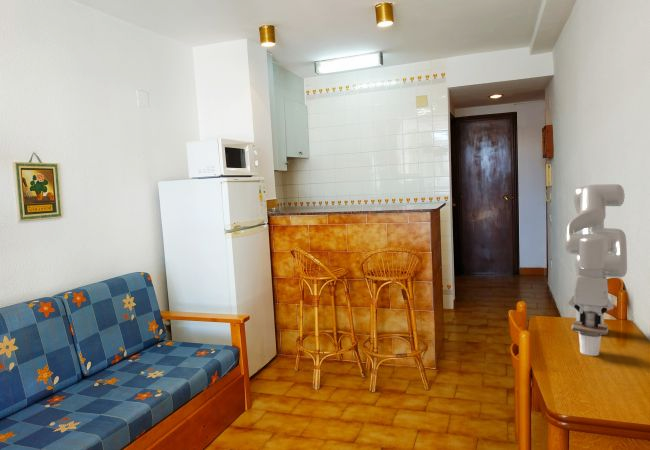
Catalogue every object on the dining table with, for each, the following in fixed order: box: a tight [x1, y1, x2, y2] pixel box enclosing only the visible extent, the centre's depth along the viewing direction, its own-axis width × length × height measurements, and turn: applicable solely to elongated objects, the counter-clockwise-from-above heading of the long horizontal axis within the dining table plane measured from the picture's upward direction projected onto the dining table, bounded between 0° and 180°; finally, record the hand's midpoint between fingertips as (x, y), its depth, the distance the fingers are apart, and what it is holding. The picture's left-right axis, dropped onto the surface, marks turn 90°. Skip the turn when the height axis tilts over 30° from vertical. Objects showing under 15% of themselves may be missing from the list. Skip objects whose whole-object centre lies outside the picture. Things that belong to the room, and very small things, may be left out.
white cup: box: [578, 331, 602, 357], centre depth 158 cm, size 7×7×7 cm
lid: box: [572, 311, 608, 336], centre depth 158 cm, size 10×10×6 cm
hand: (590, 324), depth 158 cm, fingers closed on lid, 3 cm apart
